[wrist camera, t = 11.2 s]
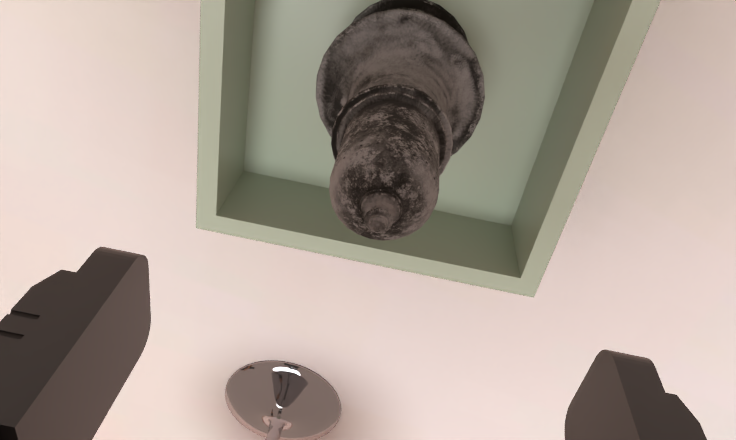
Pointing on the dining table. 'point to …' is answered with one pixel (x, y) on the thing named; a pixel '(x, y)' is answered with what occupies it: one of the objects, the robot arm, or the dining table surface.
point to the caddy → (465, 168)
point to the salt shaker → (396, 113)
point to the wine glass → (282, 401)
